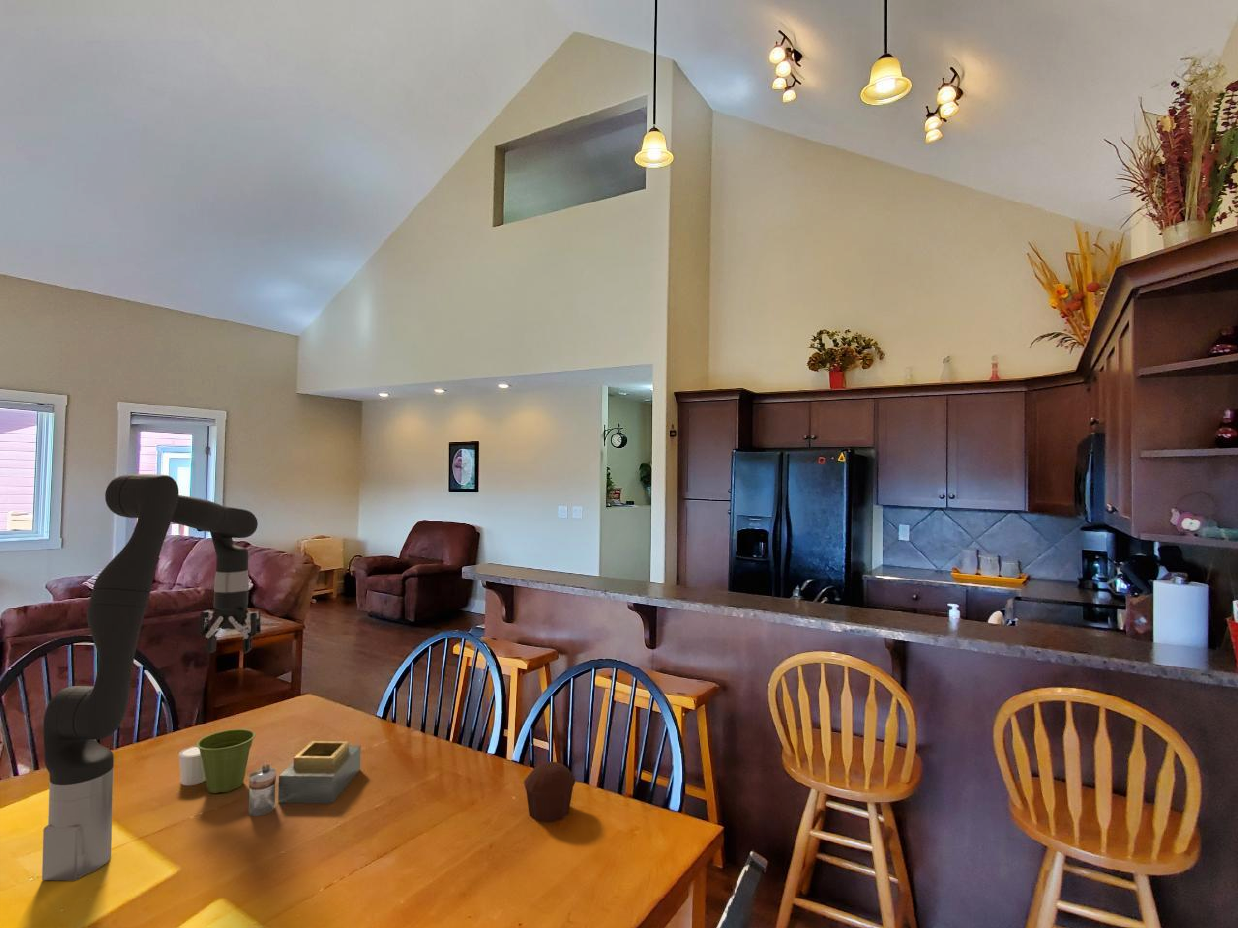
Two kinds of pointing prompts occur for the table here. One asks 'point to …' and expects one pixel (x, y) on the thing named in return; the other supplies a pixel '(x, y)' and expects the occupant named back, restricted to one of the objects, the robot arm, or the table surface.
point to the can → (262, 791)
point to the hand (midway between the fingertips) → (229, 652)
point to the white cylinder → (191, 766)
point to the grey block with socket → (319, 772)
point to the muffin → (549, 791)
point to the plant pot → (225, 758)
